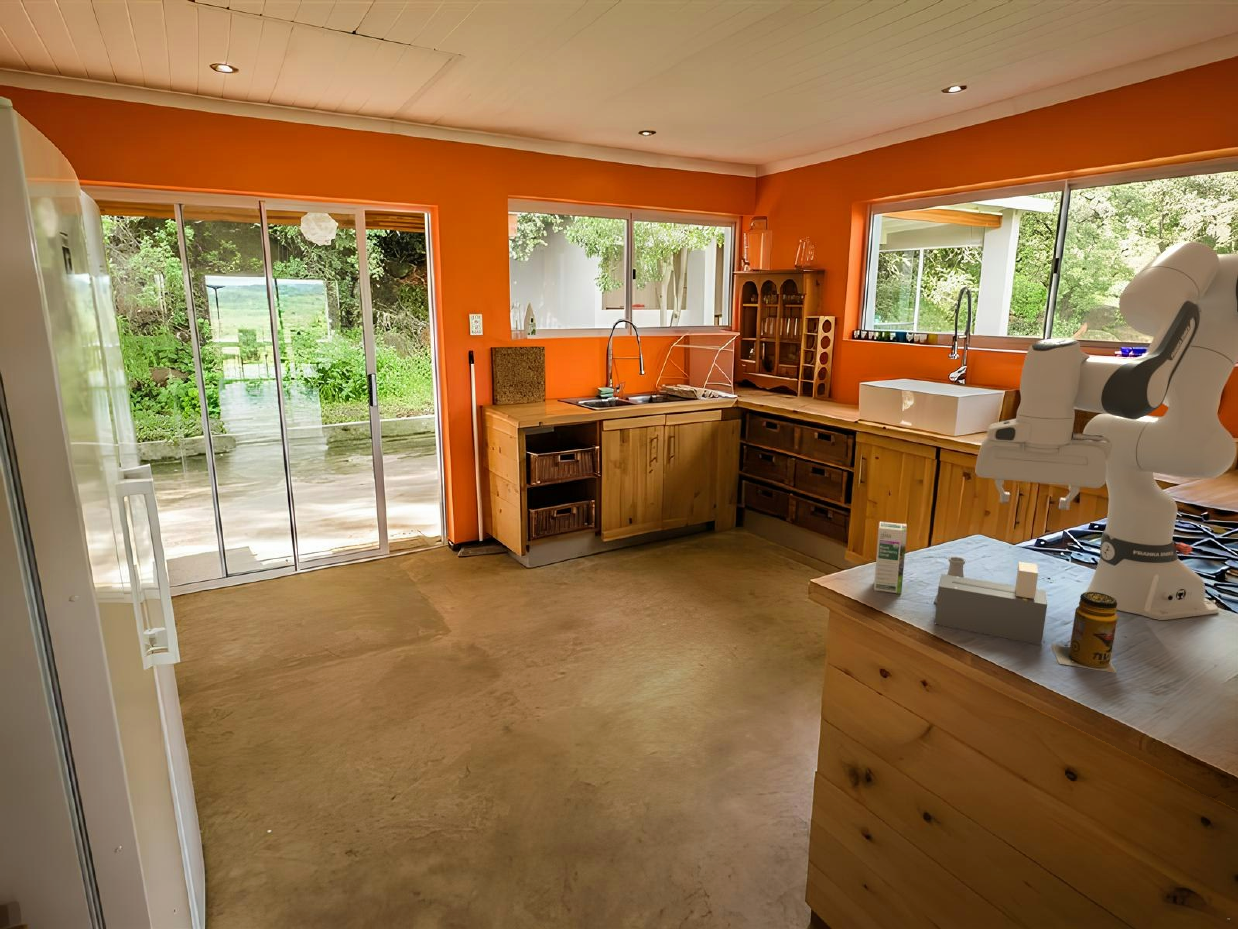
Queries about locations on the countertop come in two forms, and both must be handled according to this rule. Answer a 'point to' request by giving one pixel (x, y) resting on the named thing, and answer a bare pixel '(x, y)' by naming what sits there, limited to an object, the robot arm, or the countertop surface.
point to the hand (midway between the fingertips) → (1033, 505)
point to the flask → (955, 568)
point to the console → (990, 609)
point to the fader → (1026, 580)
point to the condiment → (1091, 633)
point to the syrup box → (890, 557)
